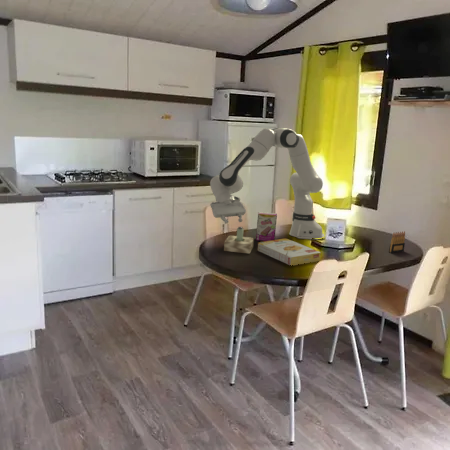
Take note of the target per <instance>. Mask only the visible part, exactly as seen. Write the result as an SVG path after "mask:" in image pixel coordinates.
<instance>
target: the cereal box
mask: <svg viewBox="0 0 450 450" xmlns="http://www.w3.org/2000/svg"><path fill="white" fill-rule="evenodd" d="M257 251H258V252H260V253H262V254H264V255H267V256H268V257H271V258H273V259H275V260H277V261H280V262H282V263H284V264H286V265H289V266H290V265H291V266H292V265H293V266H298V264H299V265H304V263H305V264H309V263H310V262H311V263H316V262H320V261H321V254H322V253H321V251H318V250H316V249H314V248H312V247H309V246H306V245H304V244H301V243H300V242H296V241H293V240H291V239H288V238H286V237H285V238H280V239H279V238H278V239H275V240H271V241H260V242H257ZM291 266H290V267H291Z"/></svg>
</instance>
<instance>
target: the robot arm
mask: <svg viewBox="0 0 450 450" xmlns="http://www.w3.org/2000/svg"><path fill="white" fill-rule="evenodd" d="M272 147H277V148H281V149H282V148H283V149H286V148H287V150H288V154H289V158H290V161H291V166H292V168H293V170H294V171H295V172H293V173H292V174H291V175H290V178H289V183H290V185H291V187H292V190H293V197H294V207H293V212H292V224H291V227H290V231H289V233H288V234H289V235H290V236H292V237H296V238H297V239H300V240H301V239H302V240H305V239H306V240H313V239H312V238H322V237H324V233H323V227H322V226H321V225H320V224H319V223H318V221H316V220H315V219H316V216H315V214H314V213H313V205H314V200H313V199H312V197H311V195H310V194H315V193H319V192H320V191H321V190H322V189H323V184H324V183H323V180H322V178H321V177H320V176H319V175H318V174H317V172H316V170H315V168H314V166H313V165H312V162H311V158H310V153H309V151H308V147H307V143H306V141H305V138H304V136H303V135H302V134H299V133H297V132H296V131H295V130H293V129H290V128H284V127H278V128H277V127H274V128H272V129H270V128H266V127H265V128H263V129H261V130H260V131H259V132H258V133H257V135H256V136H255V137H254V138H253V139H252V140H251V142H249V144H248V145H247V146H246V147H244V148H243V149H242V150H241V151H240V152H239V153H238V154H237V155H236V157H235V158H234V159H233V160H232V161H231V162H230V164H228V165H227V166H226V167H224V168H222V170H221V171H220V173H219V175H218V174H217V175H215V176H213V177H212V178H211V180H210V182H209V186H210V190H211V192H212V195H213V196H214V198H215V201H213V202H211V203H210V205H209V206H210V208H211V210H212V215H213V217H214V218H216V219H221V220H222V221H223V222H224V224H225V225H226V224H229V220H228V219H227V218H229V217H238V219H237V221H238V222H239V223H242V222H243V216H244V215H245V214H246V212H247V210H246V207H245V206H244V203H243V202H241V198H240V197H239V196H235V195H233V194H235V193H238V192H240V191H241V190H242V188H243V187H244V181H243V179H242V178H241V177H240V175H239V172H240V171H241V170H242V168H244V166H245V165H246V163H248V162H249V161H253V162H254V161H256V162H257V161H261V160H263V158H265V157H266V155H267V154H268V153H269V151H270V150H271V149H272Z"/></svg>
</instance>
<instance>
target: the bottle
mask: <svg viewBox="0 0 450 450" xmlns="http://www.w3.org/2000/svg"><path fill="white" fill-rule="evenodd" d="M244 230H245V229H244V228H243V226H238V227H237V228H236V236H237V239H236V241H243V237H244Z"/></svg>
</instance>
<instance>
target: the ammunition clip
mask: <svg viewBox="0 0 450 450" xmlns="http://www.w3.org/2000/svg"><path fill="white" fill-rule="evenodd" d="M405 241H406V231H405V230H404V231H395V232H393V233H392V235H391V240H390V244H389V249H388V253H390V254H395V253H394V252H396V253H401V251H403V252H405V244H406V243H405Z"/></svg>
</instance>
